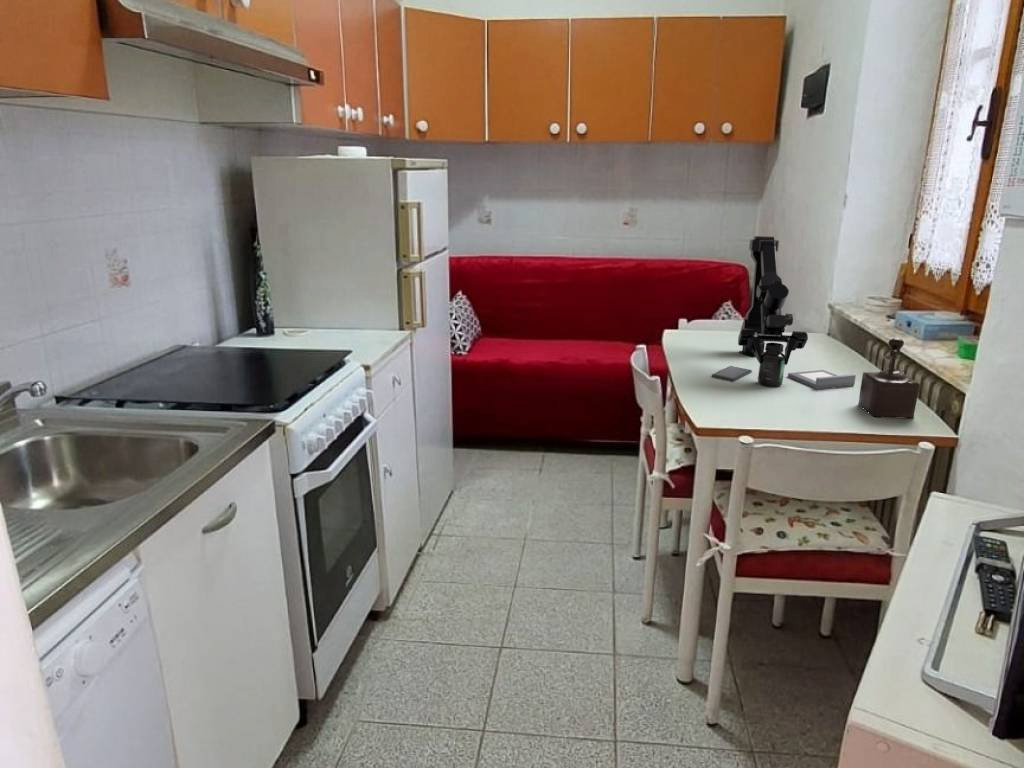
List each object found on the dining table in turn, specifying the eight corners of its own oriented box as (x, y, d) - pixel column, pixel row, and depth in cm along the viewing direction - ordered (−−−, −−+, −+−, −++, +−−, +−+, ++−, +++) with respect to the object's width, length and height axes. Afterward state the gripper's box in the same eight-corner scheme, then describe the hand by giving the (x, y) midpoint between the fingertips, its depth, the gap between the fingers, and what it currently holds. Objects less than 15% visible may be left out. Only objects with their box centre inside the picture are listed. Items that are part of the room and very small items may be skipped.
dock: (787, 376, 214) (789, 366, 214) (822, 373, 218) (824, 363, 217) (817, 389, 203) (819, 378, 202) (854, 385, 207) (855, 375, 206)
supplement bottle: (786, 387, 205) (792, 347, 201) (764, 387, 203) (769, 347, 200) (774, 380, 211) (779, 341, 207) (753, 380, 210) (758, 341, 206)
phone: (711, 376, 213) (712, 374, 213) (730, 368, 223) (730, 365, 222) (733, 381, 209) (734, 378, 209) (751, 372, 218) (751, 369, 218)
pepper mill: (917, 419, 180) (930, 351, 175) (873, 417, 181) (885, 349, 175) (890, 399, 195) (901, 336, 190) (849, 398, 196) (859, 335, 190)
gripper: (744, 301, 205) (745, 347, 198) (811, 304, 202) (814, 351, 195) (737, 322, 215) (738, 366, 208) (801, 325, 212) (804, 370, 205)
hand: (773, 363), depth 204 cm, fingers closed on supplement bottle, 7 cm apart
